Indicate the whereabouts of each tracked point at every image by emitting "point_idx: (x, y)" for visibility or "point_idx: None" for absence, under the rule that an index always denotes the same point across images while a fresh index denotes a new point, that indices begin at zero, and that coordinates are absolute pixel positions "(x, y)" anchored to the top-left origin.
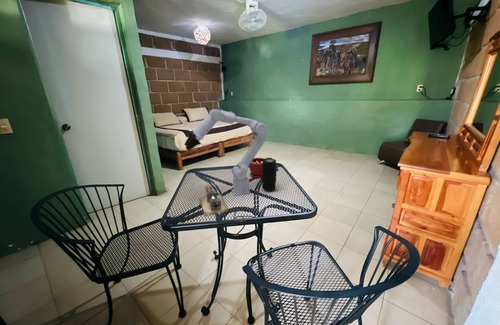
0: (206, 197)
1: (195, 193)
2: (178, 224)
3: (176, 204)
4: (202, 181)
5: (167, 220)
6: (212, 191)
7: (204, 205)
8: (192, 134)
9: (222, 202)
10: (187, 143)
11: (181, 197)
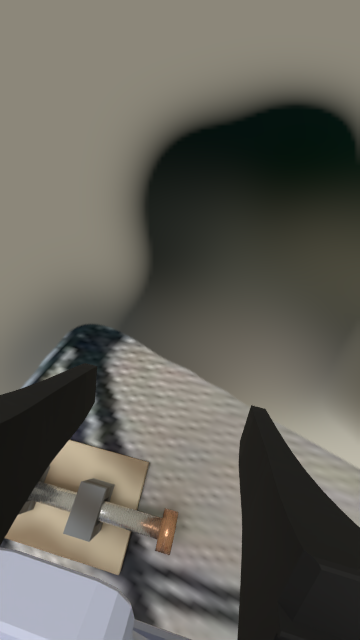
0: (139, 493)
1: (226, 474)
2: (65, 349)
3: (180, 378)
4: None
5: (106, 331)
6: (89, 518)
7: (85, 454)
8: (309, 618)
9: (51, 537)
10: (248, 445)
11: (223, 410)
